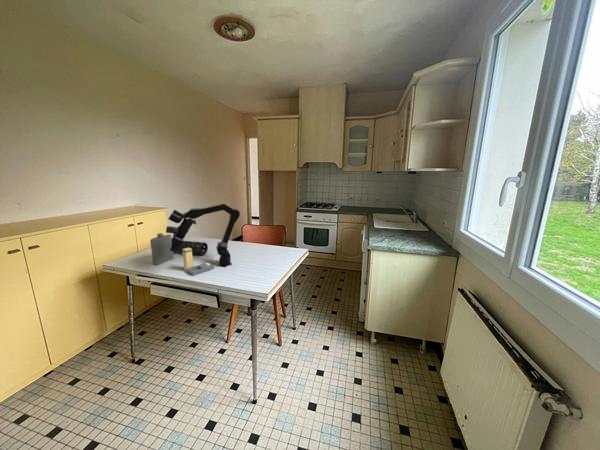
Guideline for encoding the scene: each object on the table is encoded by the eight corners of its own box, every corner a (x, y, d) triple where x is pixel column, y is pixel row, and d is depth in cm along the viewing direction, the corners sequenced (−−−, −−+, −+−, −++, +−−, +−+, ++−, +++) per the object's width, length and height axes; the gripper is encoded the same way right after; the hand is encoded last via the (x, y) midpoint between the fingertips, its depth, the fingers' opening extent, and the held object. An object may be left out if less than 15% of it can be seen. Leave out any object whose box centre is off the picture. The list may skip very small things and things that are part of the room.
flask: (168, 257, 168) (166, 230, 164) (175, 258, 167) (172, 231, 163) (150, 264, 154) (146, 235, 150) (157, 265, 153) (153, 236, 149)
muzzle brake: (201, 257, 169) (200, 244, 167) (168, 254, 175) (166, 241, 173) (208, 253, 178) (207, 240, 176) (177, 250, 184) (175, 238, 182)
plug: (190, 267, 150) (188, 247, 147) (193, 269, 148) (191, 248, 145) (184, 269, 147) (182, 249, 144) (187, 271, 145) (185, 250, 142)
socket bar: (207, 265, 154) (206, 261, 154) (214, 268, 150) (213, 264, 149) (186, 272, 143) (186, 267, 143) (193, 275, 139) (192, 271, 138)
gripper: (172, 218, 146) (159, 239, 146) (170, 223, 130) (155, 247, 129) (189, 226, 151) (177, 246, 151) (189, 232, 135) (175, 255, 134)
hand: (171, 248), depth 141 cm, fingers open, 9 cm apart
